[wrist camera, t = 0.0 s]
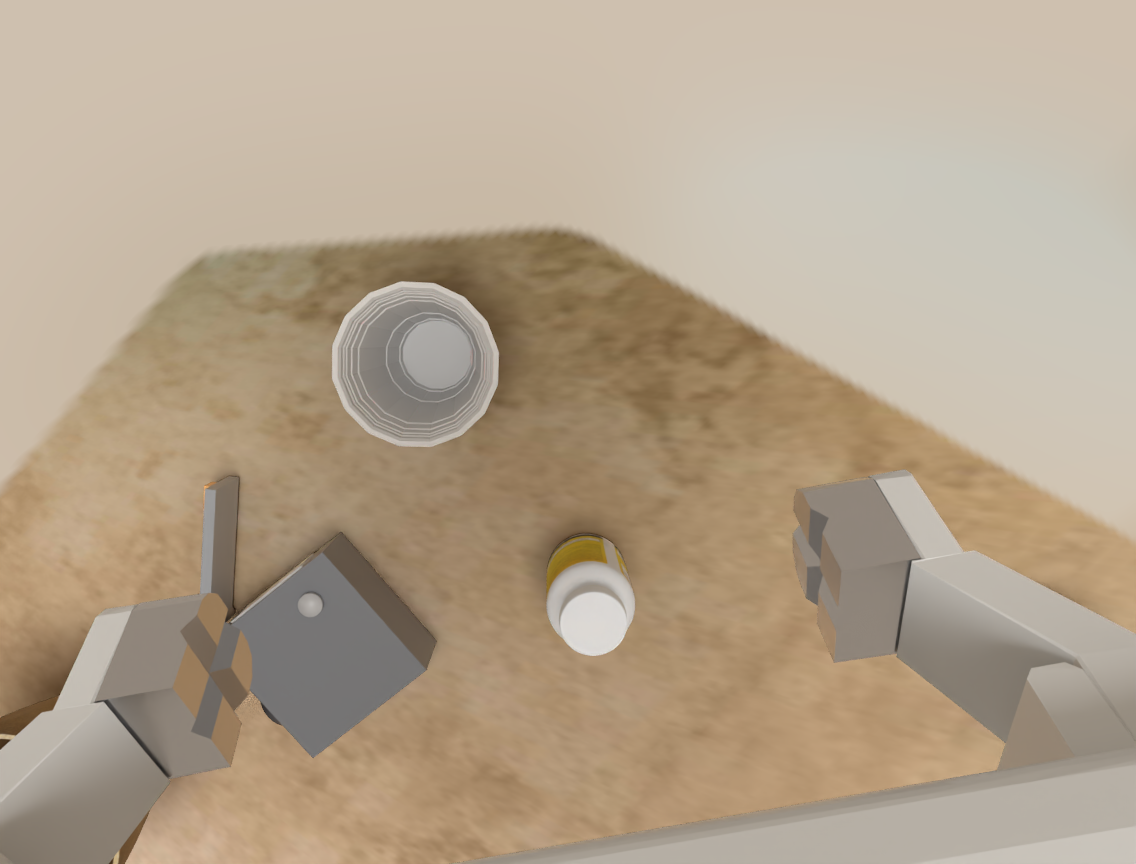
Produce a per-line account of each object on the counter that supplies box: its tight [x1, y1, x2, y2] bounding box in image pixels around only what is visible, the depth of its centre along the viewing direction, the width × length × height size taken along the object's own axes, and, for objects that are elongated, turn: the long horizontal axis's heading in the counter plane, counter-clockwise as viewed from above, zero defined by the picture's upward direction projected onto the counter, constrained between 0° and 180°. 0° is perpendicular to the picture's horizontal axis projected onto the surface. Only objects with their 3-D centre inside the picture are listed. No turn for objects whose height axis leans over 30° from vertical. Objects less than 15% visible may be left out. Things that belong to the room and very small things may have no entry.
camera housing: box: [229, 532, 436, 758], centre depth 66 cm, size 12×12×6 cm
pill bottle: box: [547, 534, 635, 656], centre depth 63 cm, size 6×6×12 cm
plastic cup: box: [332, 282, 499, 447], centre depth 59 cm, size 11×11×12 cm
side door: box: [200, 476, 239, 622], centre depth 65 cm, size 2×12×5 cm, turn 174°
